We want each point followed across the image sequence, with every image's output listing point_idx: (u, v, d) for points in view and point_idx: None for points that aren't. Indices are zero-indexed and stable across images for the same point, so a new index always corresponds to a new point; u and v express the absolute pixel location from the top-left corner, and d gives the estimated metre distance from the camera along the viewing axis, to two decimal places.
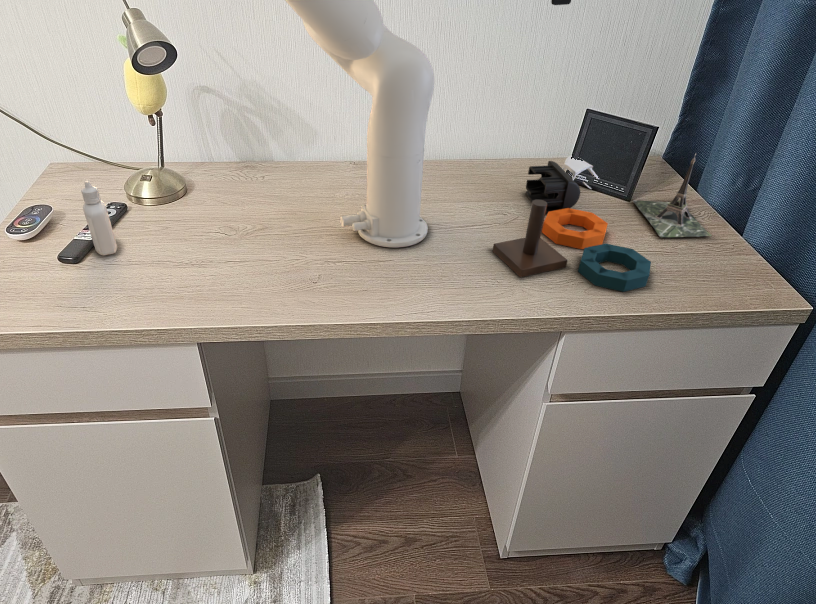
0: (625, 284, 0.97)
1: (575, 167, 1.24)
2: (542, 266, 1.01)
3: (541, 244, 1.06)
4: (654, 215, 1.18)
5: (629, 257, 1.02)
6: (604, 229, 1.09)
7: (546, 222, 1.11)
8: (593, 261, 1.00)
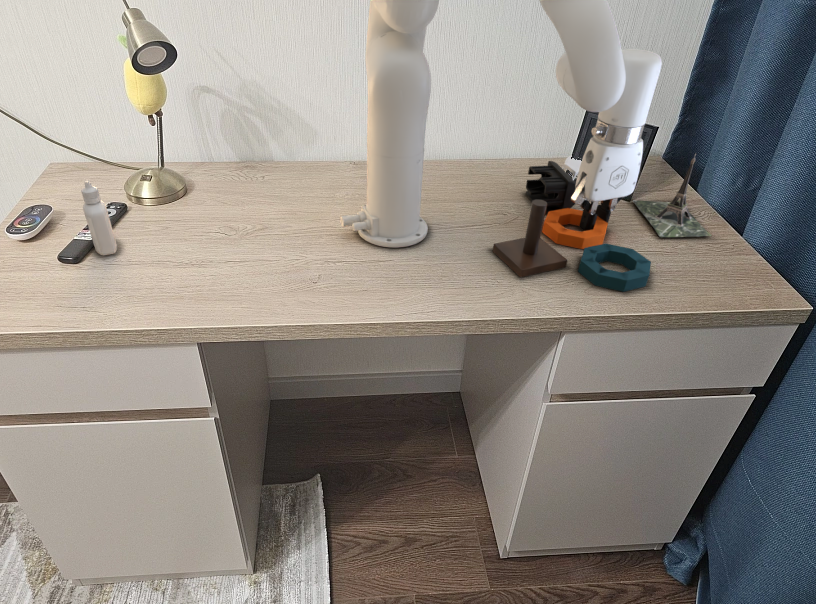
0: (625, 284, 0.97)
1: (575, 167, 1.24)
2: (542, 266, 1.01)
3: (541, 244, 1.06)
4: (654, 215, 1.18)
5: (629, 257, 1.02)
6: (604, 229, 1.09)
7: (546, 222, 1.11)
8: (593, 261, 1.00)
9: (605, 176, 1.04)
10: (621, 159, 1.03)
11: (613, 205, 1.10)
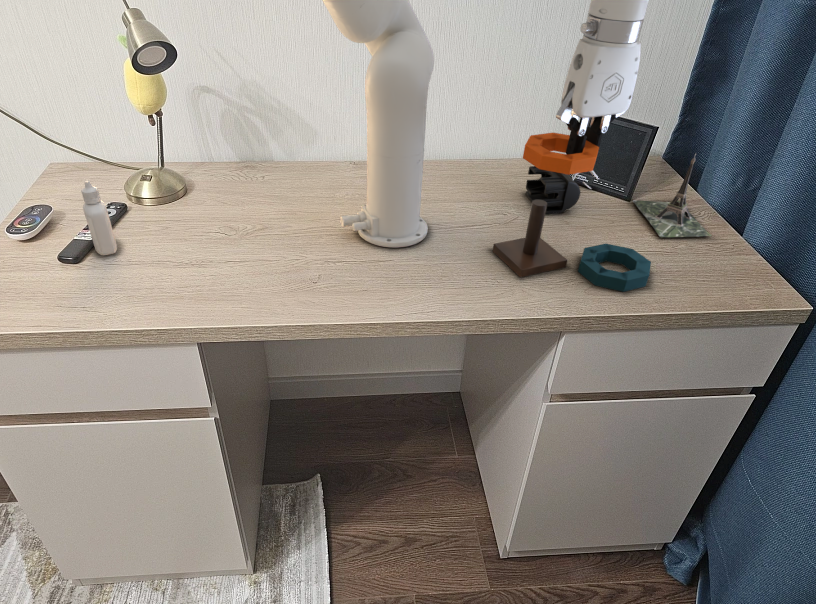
0: (625, 284, 0.97)
1: None
2: (542, 266, 1.01)
3: (541, 244, 1.06)
4: (654, 215, 1.18)
5: (629, 257, 1.02)
6: (595, 153, 0.93)
7: (528, 145, 0.95)
8: (593, 261, 1.00)
9: (596, 85, 0.88)
10: (615, 63, 0.87)
11: (605, 126, 0.95)
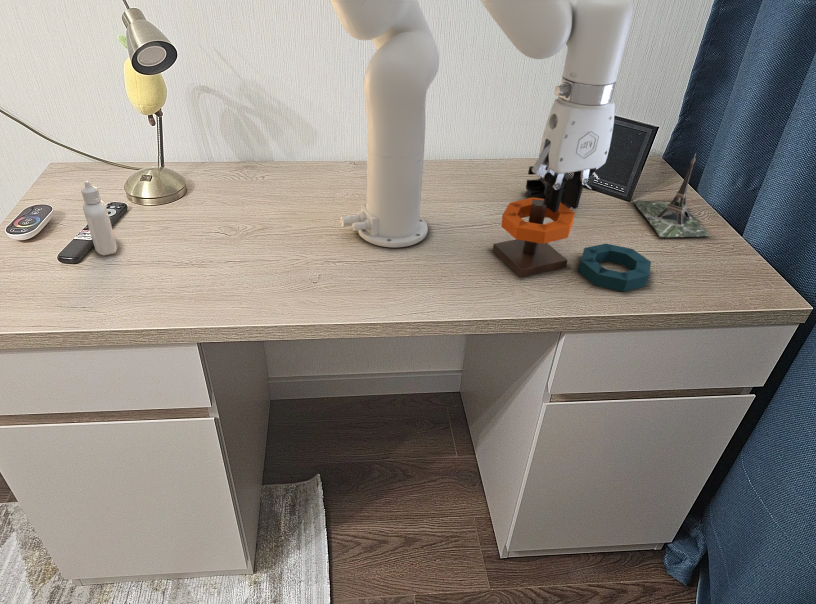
0: (625, 284, 0.97)
1: None
2: (542, 266, 1.01)
3: (541, 244, 1.06)
4: (654, 215, 1.18)
5: (629, 257, 1.02)
6: (570, 220, 0.97)
7: (505, 215, 0.99)
8: (593, 261, 1.00)
9: (571, 143, 0.90)
10: (589, 123, 0.89)
11: (585, 178, 0.97)
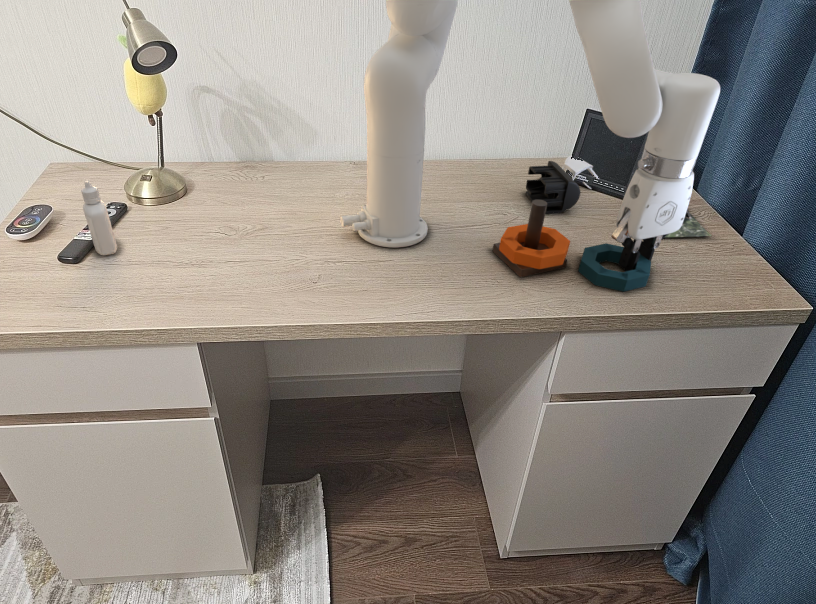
0: (625, 284, 0.97)
1: (575, 167, 1.24)
2: None
3: (541, 244, 1.06)
4: None
5: None
6: (565, 248, 1.01)
7: (503, 239, 1.02)
8: (593, 261, 1.00)
9: (652, 213, 0.93)
10: (670, 194, 0.92)
11: (658, 242, 1.00)
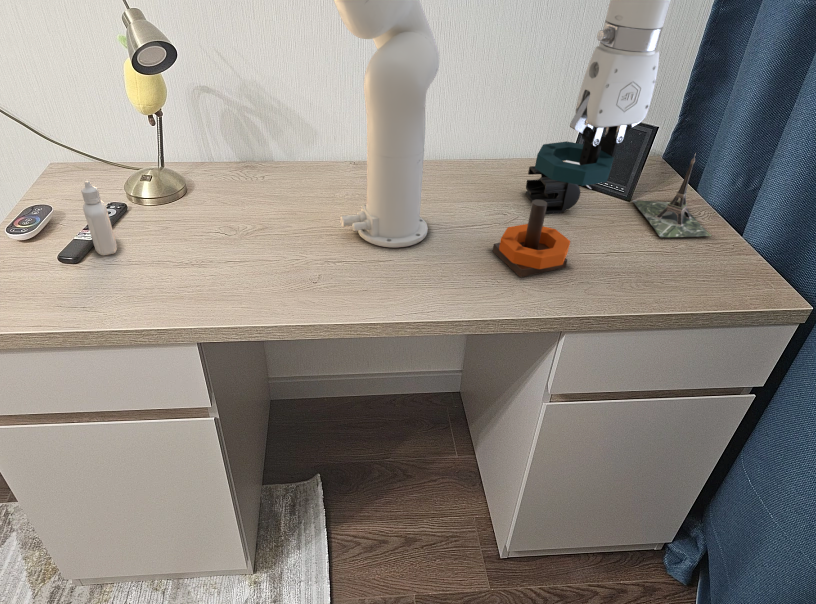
0: (584, 176, 0.88)
1: None
2: None
3: (541, 244, 1.06)
4: (654, 215, 1.18)
5: None
6: (565, 248, 1.01)
7: (503, 239, 1.02)
8: (551, 155, 0.92)
9: (612, 94, 0.85)
10: (632, 72, 0.84)
11: (621, 136, 0.92)
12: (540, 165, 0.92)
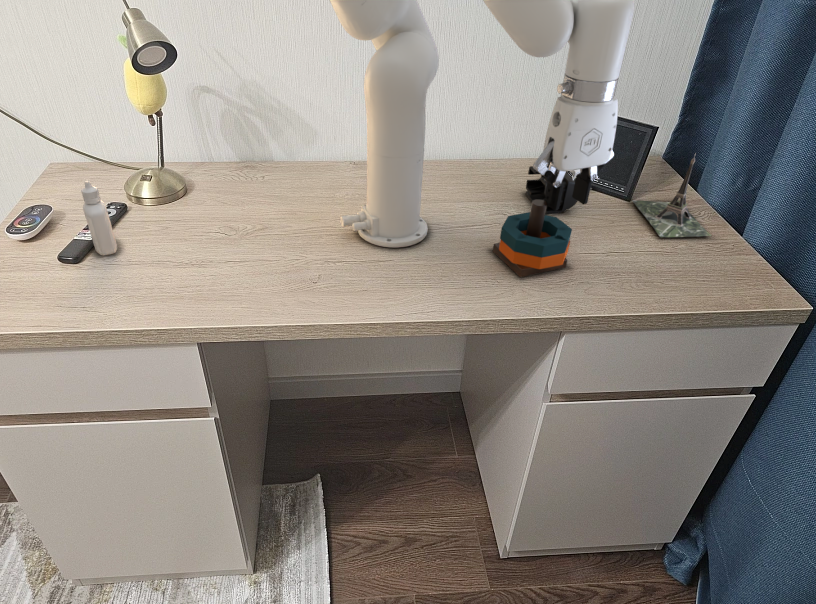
0: (542, 250, 0.97)
1: None
2: None
3: None
4: (654, 215, 1.18)
5: (551, 225, 1.03)
6: None
7: None
8: (514, 228, 1.01)
9: (575, 141, 0.90)
10: (593, 120, 0.89)
11: (594, 174, 0.97)
12: (504, 237, 1.01)
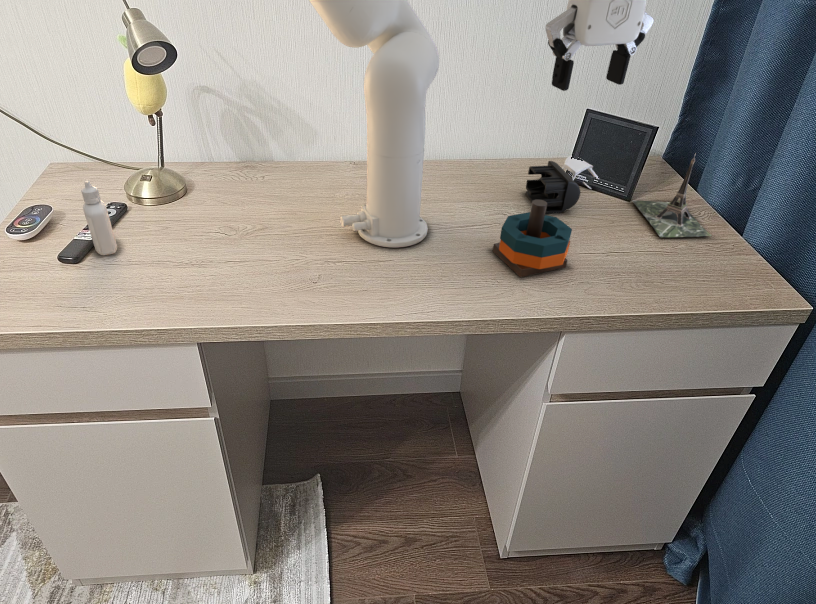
0: (542, 250, 0.97)
1: (575, 167, 1.24)
2: None
3: None
4: (654, 215, 1.18)
5: (551, 225, 1.03)
6: None
7: None
8: (514, 228, 1.01)
9: (601, 7, 0.79)
10: None
11: (632, 47, 0.86)
12: (504, 237, 1.01)
